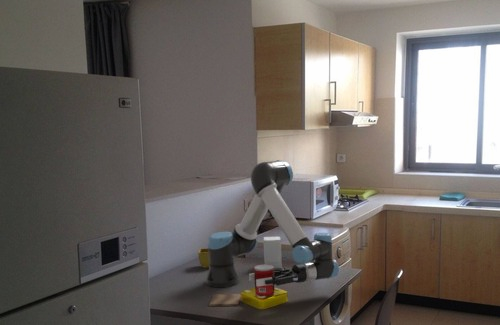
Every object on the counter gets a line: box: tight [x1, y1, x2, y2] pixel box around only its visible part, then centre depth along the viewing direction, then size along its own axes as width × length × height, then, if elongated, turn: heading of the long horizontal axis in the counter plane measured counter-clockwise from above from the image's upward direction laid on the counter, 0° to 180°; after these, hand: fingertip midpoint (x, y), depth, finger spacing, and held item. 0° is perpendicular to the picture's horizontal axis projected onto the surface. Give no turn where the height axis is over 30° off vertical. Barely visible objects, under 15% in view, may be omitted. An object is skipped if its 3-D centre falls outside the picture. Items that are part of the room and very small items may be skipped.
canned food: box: [253, 264, 275, 296], centre depth 197 cm, size 8×8×11 cm
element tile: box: [240, 286, 288, 310], centre depth 201 cm, size 15×15×5 cm
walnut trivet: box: [208, 293, 241, 307], centre depth 203 cm, size 12×12×1 cm
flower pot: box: [197, 247, 210, 269], centre depth 257 cm, size 9×9×9 cm
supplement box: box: [263, 236, 283, 269], centre depth 253 cm, size 9×9×15 cm
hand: (253, 280), depth 196 cm, fingers closed on canned food, 8 cm apart
